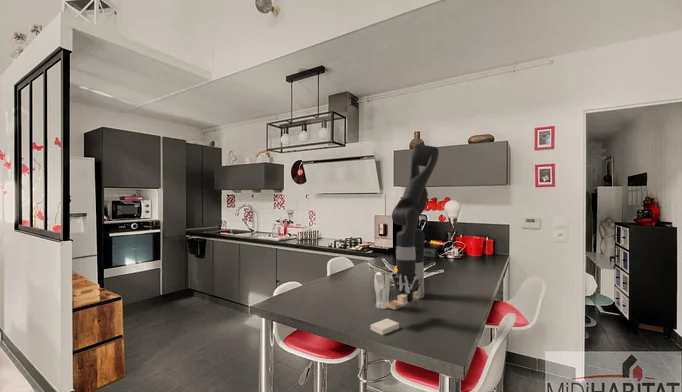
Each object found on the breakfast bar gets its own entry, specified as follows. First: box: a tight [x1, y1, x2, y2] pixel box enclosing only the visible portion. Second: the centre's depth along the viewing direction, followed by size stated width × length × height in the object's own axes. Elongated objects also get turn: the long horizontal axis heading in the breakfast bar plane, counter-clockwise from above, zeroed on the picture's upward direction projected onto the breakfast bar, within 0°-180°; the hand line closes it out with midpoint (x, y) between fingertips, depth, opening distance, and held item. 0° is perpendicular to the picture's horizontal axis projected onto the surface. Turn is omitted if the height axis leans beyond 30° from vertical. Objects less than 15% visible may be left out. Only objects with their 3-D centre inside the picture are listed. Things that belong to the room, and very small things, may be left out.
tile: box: [370, 318, 400, 336], centre depth 115 cm, size 6×2×9 cm
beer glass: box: [373, 271, 391, 310], centre depth 139 cm, size 7×7×15 cm
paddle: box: [385, 292, 420, 310], centre depth 122 cm, size 16×5×3 cm, turn 129°
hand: (406, 300), depth 123 cm, fingers closed on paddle, 2 cm apart
